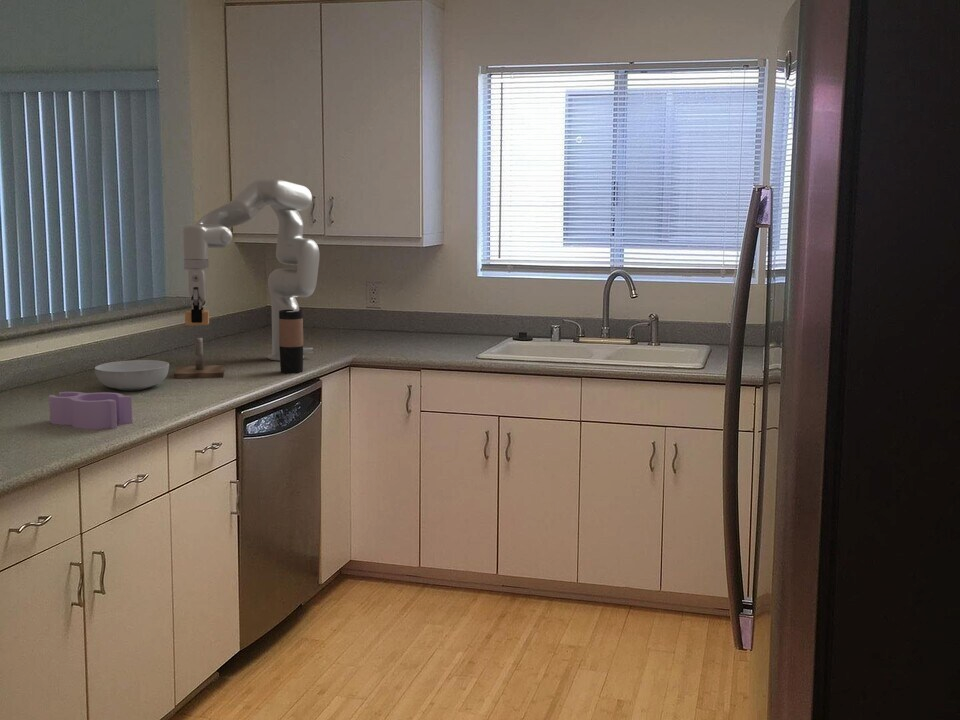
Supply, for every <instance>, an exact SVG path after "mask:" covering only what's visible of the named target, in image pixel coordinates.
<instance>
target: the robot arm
mask: <svg viewBox="0 0 960 720" xmlns="http://www.w3.org/2000/svg"><path fill="white" fill-rule="evenodd" d="M312 202H313V195H312V192H311V191H310V189H309V188H308V187H307V186H305V185H303V184H298V183H295V182H291V181H287V180H284V179H276V178H259V179H256V180H253V181H252V182H251V183H250V184H248V185H247V186H246V187H245V188H244V189H242V191H241V192H240V193H239V194H237V195H236V196H235V198H233V199H232V200H231V201H229V202H228V203H226V204H223V205H221V206H219V207H217V208H215V209H213V210H211V211H209V212H208V213H206V214H204V215H203V216H202V217H201V218H200V219H199V220H197V222H196V223H194V224H193V225H189V224H188V225H186V226H184V227H183V229H182V240H183V241H182V242H183V243H182V244H183V245H182V247H183V270H184V271H187V280H188V281H187V283H188V285H187V286H188V294H189V295H188V297H189V301H190V302H191V321H192V323H201V322H202V310H204V307H203V302H206V300H207V273H206V270H207V271H209V267H210V266H209V263H210V262H209V249H224V248H226V247H229V245H230V244H231V243H232V241H233V233H232V231H231V229H230V228H233V227H237V226H240V225H243V224H246V223H249V222H250V221H251V220H252V219H253V218H254V217H255V216H256V215H257V214H259V212H260V211H261V210H262V209H264V208H265V207H266V206H268V205H269V206H270V207H271V209H272V210H273V211H274V213H275V215H276V217H277V221H278V229H277V231H278V232H277V240H276V250H275V258H276V259H277V261H278V262H279V263H280V264H283V265H288V266H297V267H296V268H297V269H296V268H285V267H283V268H277V269H274V270H273V271H271V272H270V274H269V276H268V279H267V285H268V290H269V296H270V304H271V342H272V343H271V344H272V347H271V349H272V353H270V354H268V355H267V359H269V360H270V361H271V360H272V361H279V362H280V348H279V311H280V310H293V311H299V310H300V306H299V302H298V301H297V299H296V298H308V297H311V296H312V295H313V294H314V292H315V289H316V288H317V282H318V276H319V275H318V274H319V267H320V266H319V265H320V249H319V246H318V243H317V242H316V241H315V240H314V239H312V238H310V237H309V238H307V237H304V221H303V217H302V216H301V214H300V212H301V211H306V210H308V209H309V208H310V207H311V205H312ZM313 353H314V347H304V346H303V359H304V358H305V354H313Z"/></svg>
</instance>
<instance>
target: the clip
mask: <svg viewBox="0 0 960 720" xmlns="http://www.w3.org/2000/svg"><path fill="white" fill-rule="evenodd" d="M132 399H133V397H132V395H124V394H122V393H119V392H109V391H108V392H105V391H104V392H103V391H102V392H82V391H63V392H61V391H60V392H58V396H56V395H55V394H49V395H48V404H49V423H50V424H51V423H52V425H56V424H59V425H61V426H71V425H72V426H71V427H73V428H75V429H80V428H81V430H102V429H103V428H104V429H111V430H116V429H118V424H120V425H126V424H127V423H128V424H129V423H130V424H133V420H134V419H133V400H132ZM128 424H127V425H128ZM59 425H58V426H59ZM115 428H116V429H115ZM104 429H103V430H104Z"/></svg>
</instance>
